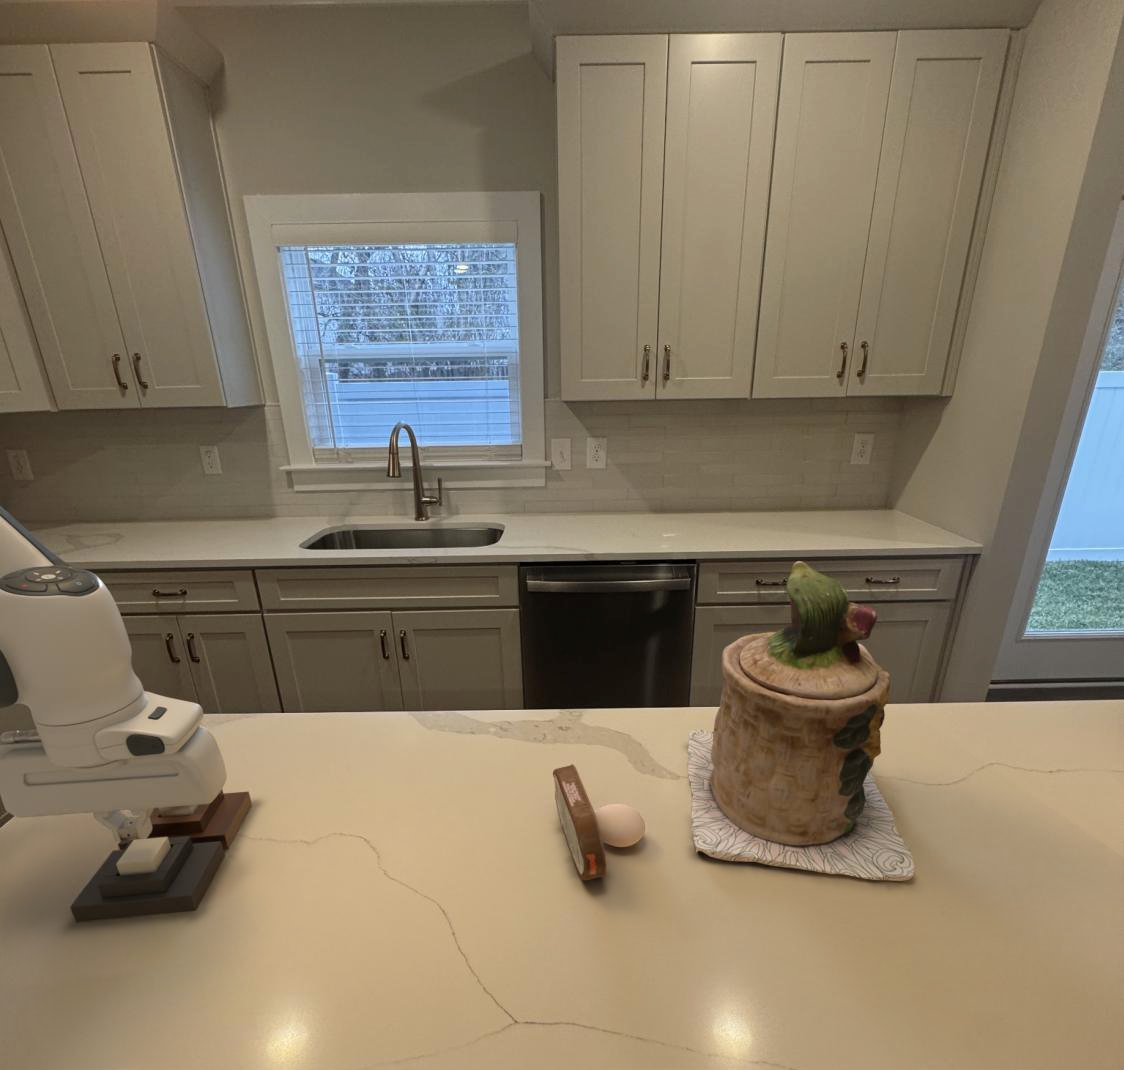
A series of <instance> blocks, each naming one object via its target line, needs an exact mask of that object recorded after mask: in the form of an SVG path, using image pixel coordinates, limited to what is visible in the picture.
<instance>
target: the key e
mask: <svg viewBox="0 0 1124 1070" xmlns="http://www.w3.org/2000/svg"><path fill="white" fill-rule="evenodd" d="M198 807H199V805H187V806H174V807H160V808H159V811H160V814H161V817H171V816H183V815H194V813H195V812H196V810H197V809H198Z"/></svg>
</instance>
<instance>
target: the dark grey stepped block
mask: <svg viewBox="0 0 1124 1070" xmlns="http://www.w3.org/2000/svg"><path fill="white" fill-rule="evenodd" d="M168 840H169V843H170V846H171V850H170V852H169V853H168V855H167V856H166V858H165V859H164V861H163V862H162V864H161V866H160V867H159V869H158V870H157V872H155V873H144V874H133V875H122V876H120V873H119V871H118V868H117V865H116V863H117V862H118V861H119V859H120V858H121V857H122V855H123V854H124V853H125V851H126V850H127V848H128V847H129V846H130V844H131V843H132V842H133V841H130V842H129V843H128V845H127V846H126V848H125V849H124V850H120V849H118V850H112V852H110V854H109V855H108V856H107V858H106V859H105V860H104V862H103V863H102V864H101V866H100V867H99V868H98V869H97V871H96V872H95V874H94V875H93V876H92V878H91V879H90V880H89V882H88V883H86V885H85V887H84V888H83V889H82V891H81V892H80V893H79V895H77V897H76V898H75V900H74V901H73V902H72V904H70V906H69V909H70V911H71V913H72V916H73V919H74V921H75V922H76V923H83V922H93V921H95V922H96V921H102V920H103V921H104V920H105V921H106V920H115V919H123V918H134V917H143V916H145V917H146V916H155V915H164V914H166V915H167V914H175V913H185V912H195V911H196V910H197V909H198V908H199V905H200V904H201V902H202V900H203V898H204V896H205V894H206V892H207V890H208V888H209V887H210V884H211V882H212V881H213V879H214V877H215V875H216V873H217V872H218V870H219V868H220V866H221V864H222V862H223V860H224V858H225V856H226V854H225V849H223V846H222V843H221V841H217V842H206V843H195V844H192V841H191V838H190V836H182V837H170V838H168Z"/></svg>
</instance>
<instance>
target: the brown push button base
mask: <svg viewBox="0 0 1124 1070" xmlns="http://www.w3.org/2000/svg"><path fill="white" fill-rule="evenodd" d="M252 806H253V803H252V798H251V795H250V791H237V792H236V791H235V792H224V790H223V789H222V790H221V791H220V793H219V794H218V795H217V797H216V798H215V799H214V800H213V801H212V802H211V803H209V804H202V805H199V807H198V809H197V810H196V812H195V813H194V815H183V816H171V817H161V814H160V811H159V808H154V809H153V811H152V813H151V816H150V820H151V824H152V832H151V833H150V834H149V836H148V837H147V838H146V839H150V838H161V837H168V838H170V837H182V836H190V838H191V841H192V844H195V843H206V842H217V841H221V843H222V846H223V850H229V849H230V848H231V845H232V843H233V842H234V840H235V838H236V836H237V834H238V832H239V830H240V828H241V826H242V825H243V822H244V821H245V819H246V817H247V815H248V814H249V811H250V809H251V808H252ZM136 840H138V839H136ZM130 841H133V840H124V841H118V843H117V846H118V848H119V849H118V850H124V849H125V848H126V846H127V845H128V843H129V842H130Z"/></svg>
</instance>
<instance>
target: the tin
mask: <svg viewBox="0 0 1124 1070" xmlns="http://www.w3.org/2000/svg"><path fill="white" fill-rule="evenodd" d="M552 776H553V780H554V791H555V792H554V799H555V804H556V809H557V813H558V817H559V821H560V824H561V827H562V831H563V833H564V837H565V841H566V844H567V846H568V850H569V852H570V854H571V858H572V860H573V863H574V867H575V869H576V872H577V874H578V876H579V878H580V879H581V880H582V881H589V880H593V879H597V878H605V877H606V875H607V860H606V852H605V846H604V842H603V841H602V836H601V832H600V829H599V825H598V822H597V818H596V815H595V813H594V812H595V810H594V808H593V806H592V803H591V801H590V798H589V796H588V794H587V791H586V788H585V786H584V784H583V781H582V779H581V777H580V774H579V772H578V770H577V767H576V765H574V764H573V763H572V764H570V765H566V766H562V767H558V768H555V769H554V770H553V771H552Z"/></svg>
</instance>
